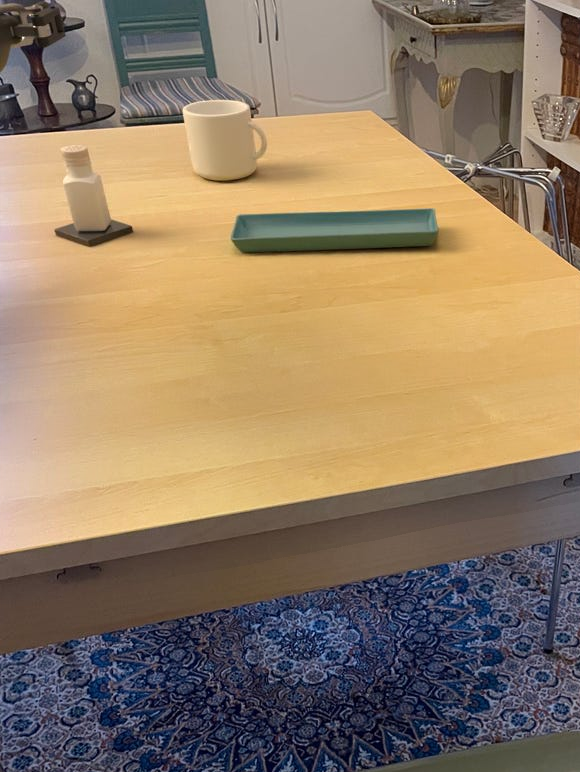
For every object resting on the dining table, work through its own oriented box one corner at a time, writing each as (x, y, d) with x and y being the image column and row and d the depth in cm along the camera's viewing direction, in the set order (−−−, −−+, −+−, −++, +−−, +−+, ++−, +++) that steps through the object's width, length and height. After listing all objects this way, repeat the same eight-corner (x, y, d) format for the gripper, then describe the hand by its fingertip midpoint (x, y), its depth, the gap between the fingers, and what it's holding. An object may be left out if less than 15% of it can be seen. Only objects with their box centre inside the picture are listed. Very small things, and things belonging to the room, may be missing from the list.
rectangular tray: (232, 255, 118) (229, 235, 116) (239, 230, 125) (236, 211, 123) (439, 251, 120) (439, 231, 118) (435, 226, 127) (434, 207, 125)
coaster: (89, 246, 120) (87, 240, 119) (55, 235, 123) (53, 229, 122) (133, 232, 124) (132, 225, 123) (99, 221, 127) (98, 214, 126)
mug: (283, 166, 146) (275, 101, 140) (260, 186, 139) (250, 118, 133) (210, 161, 148) (199, 96, 142) (183, 181, 140) (171, 113, 134)
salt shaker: (106, 232, 121) (86, 152, 115) (74, 233, 121) (52, 152, 115) (113, 222, 124) (94, 143, 118) (82, 222, 124) (61, 143, 118)
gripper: (18, -6, 84) (64, -31, 96) (-148, -6, 83) (-80, -31, 95) (43, 90, 89) (84, 55, 101) (-113, 90, 88) (-53, 55, 100)
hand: (4, 13), depth 98 cm, fingers open, 8 cm apart
